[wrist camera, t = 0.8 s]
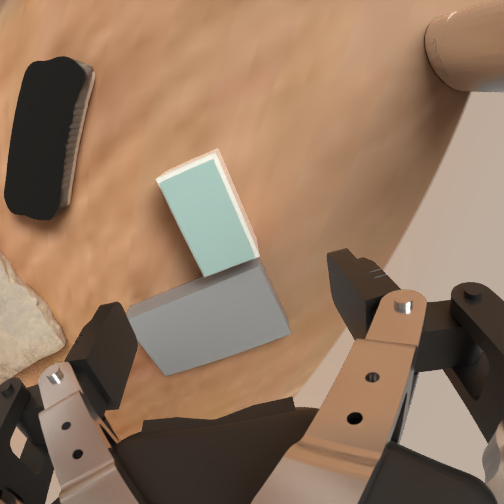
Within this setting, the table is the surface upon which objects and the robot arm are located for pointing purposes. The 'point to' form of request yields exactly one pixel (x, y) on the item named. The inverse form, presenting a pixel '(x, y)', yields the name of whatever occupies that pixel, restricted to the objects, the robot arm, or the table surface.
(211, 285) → the stand
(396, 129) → the table surface
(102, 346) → the robot arm
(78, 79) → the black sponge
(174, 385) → the table surface
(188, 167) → the block
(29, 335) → the curved stone fragment
